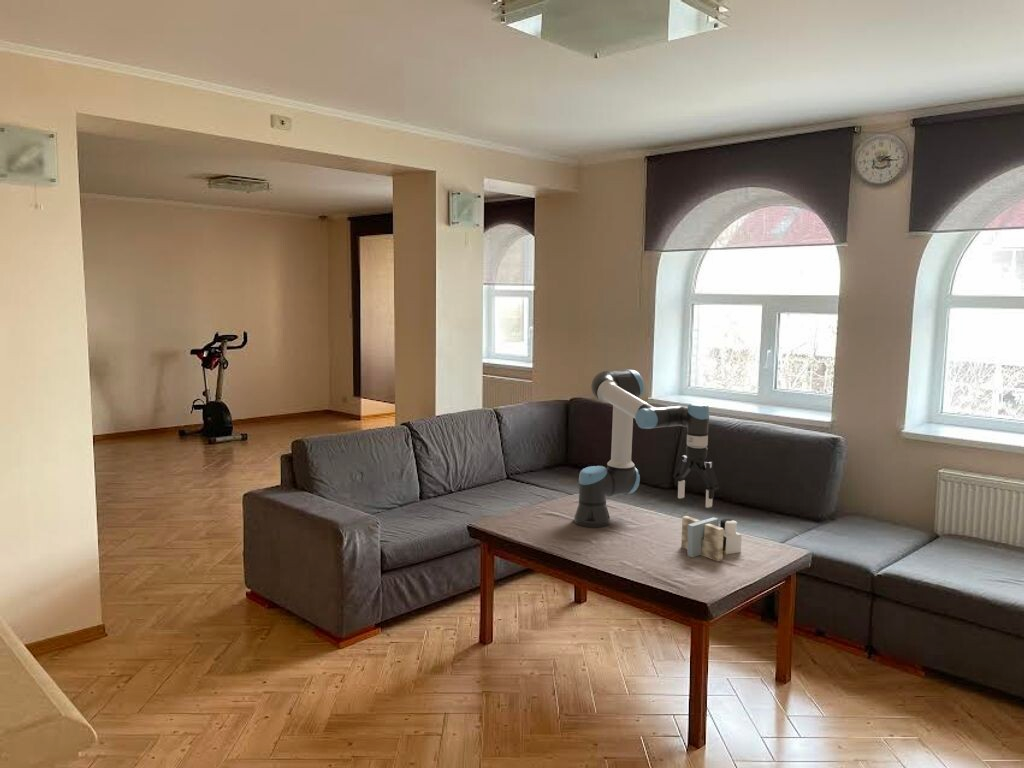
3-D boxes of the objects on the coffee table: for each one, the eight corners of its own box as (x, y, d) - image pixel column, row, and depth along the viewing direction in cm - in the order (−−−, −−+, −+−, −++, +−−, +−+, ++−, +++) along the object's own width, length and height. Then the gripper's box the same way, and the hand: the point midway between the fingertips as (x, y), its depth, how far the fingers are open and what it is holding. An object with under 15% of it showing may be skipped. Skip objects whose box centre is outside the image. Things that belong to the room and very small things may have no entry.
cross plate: (692, 557, 274) (692, 526, 272) (687, 555, 276) (687, 524, 274) (717, 549, 282) (718, 518, 280) (713, 547, 284) (713, 517, 282)
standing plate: (681, 546, 285) (682, 516, 284) (685, 545, 287) (686, 515, 285) (717, 561, 270) (719, 529, 269) (722, 560, 272) (723, 528, 270)
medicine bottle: (713, 548, 284) (715, 518, 282) (729, 546, 286) (731, 516, 285) (725, 554, 277) (726, 523, 276) (741, 552, 279) (742, 521, 278)
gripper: (664, 441, 279) (663, 495, 282) (716, 453, 258) (713, 512, 261) (679, 438, 283) (677, 492, 286) (730, 451, 262) (728, 509, 265)
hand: (694, 502), depth 273 cm, fingers open, 13 cm apart
